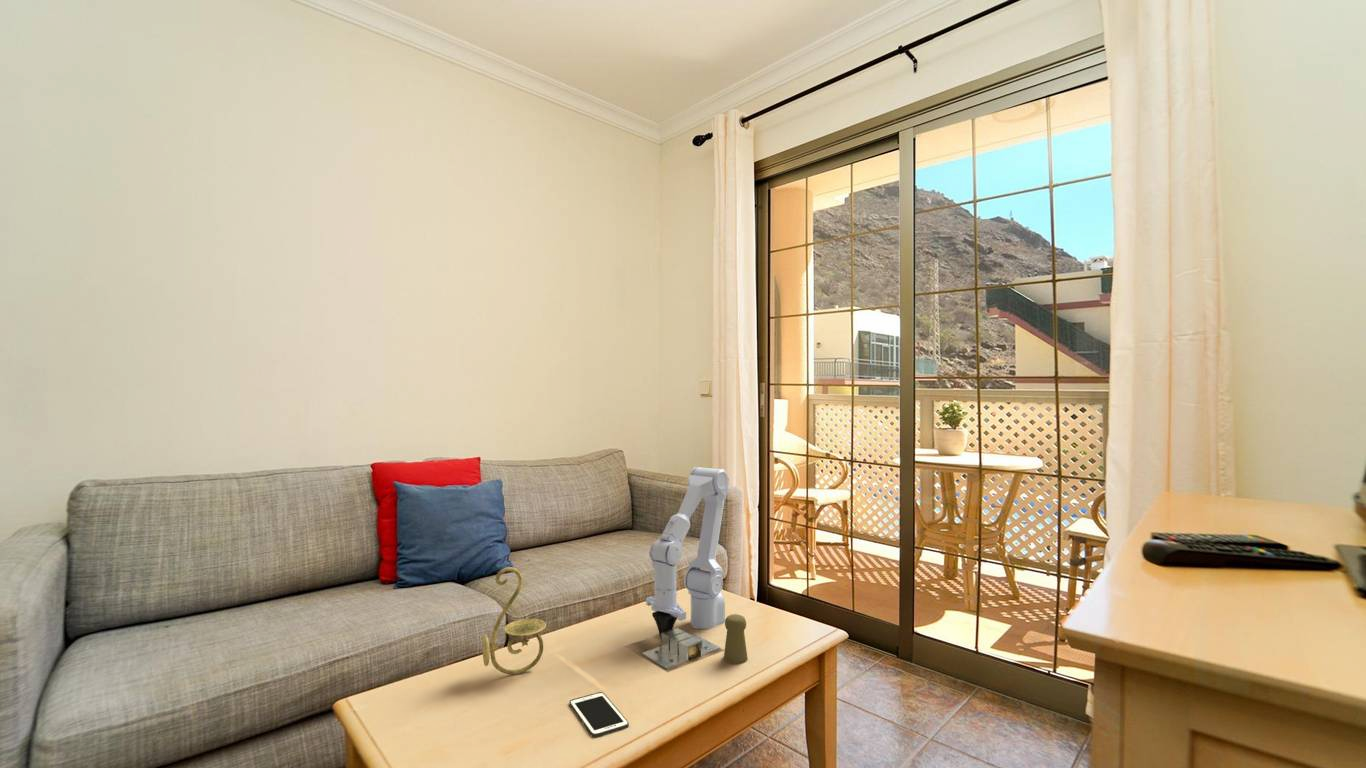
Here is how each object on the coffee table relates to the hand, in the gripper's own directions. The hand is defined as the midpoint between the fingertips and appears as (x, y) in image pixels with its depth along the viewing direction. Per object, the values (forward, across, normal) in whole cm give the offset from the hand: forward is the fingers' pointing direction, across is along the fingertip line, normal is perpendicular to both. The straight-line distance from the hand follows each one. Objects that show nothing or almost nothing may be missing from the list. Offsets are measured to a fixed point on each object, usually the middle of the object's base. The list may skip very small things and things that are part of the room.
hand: (665, 640), depth 151 cm
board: (+2, +4, 0) cm, 4 cm away
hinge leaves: (+1, +7, 0) cm, 7 cm away
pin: (+1, +6, 0) cm, 6 cm away
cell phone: (+2, +17, -30) cm, 34 cm away
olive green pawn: (+2, +18, +8) cm, 19 cm away
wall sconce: (+2, -10, -36) cm, 38 cm away
